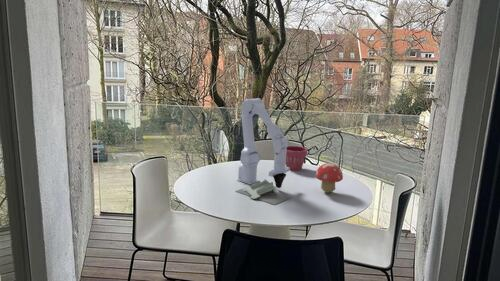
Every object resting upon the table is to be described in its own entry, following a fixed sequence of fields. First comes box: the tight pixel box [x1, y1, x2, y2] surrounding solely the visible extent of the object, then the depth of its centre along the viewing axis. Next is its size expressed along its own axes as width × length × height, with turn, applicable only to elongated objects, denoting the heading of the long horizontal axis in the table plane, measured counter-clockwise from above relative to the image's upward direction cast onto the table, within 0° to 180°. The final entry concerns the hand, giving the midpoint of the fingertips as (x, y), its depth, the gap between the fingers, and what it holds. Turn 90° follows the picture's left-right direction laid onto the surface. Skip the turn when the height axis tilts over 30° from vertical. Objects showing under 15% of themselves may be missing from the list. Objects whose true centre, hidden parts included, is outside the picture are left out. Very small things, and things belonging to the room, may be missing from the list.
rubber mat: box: [235, 185, 292, 206], centre depth 180 cm, size 24×13×1 cm, turn 49°
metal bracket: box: [242, 179, 277, 200], centre depth 181 cm, size 14×6×15 cm
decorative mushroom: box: [315, 162, 344, 194], centre depth 185 cm, size 13×13×15 cm
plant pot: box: [286, 145, 308, 172], centre depth 225 cm, size 14×14×13 cm
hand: (278, 187), depth 187 cm, fingers closed
